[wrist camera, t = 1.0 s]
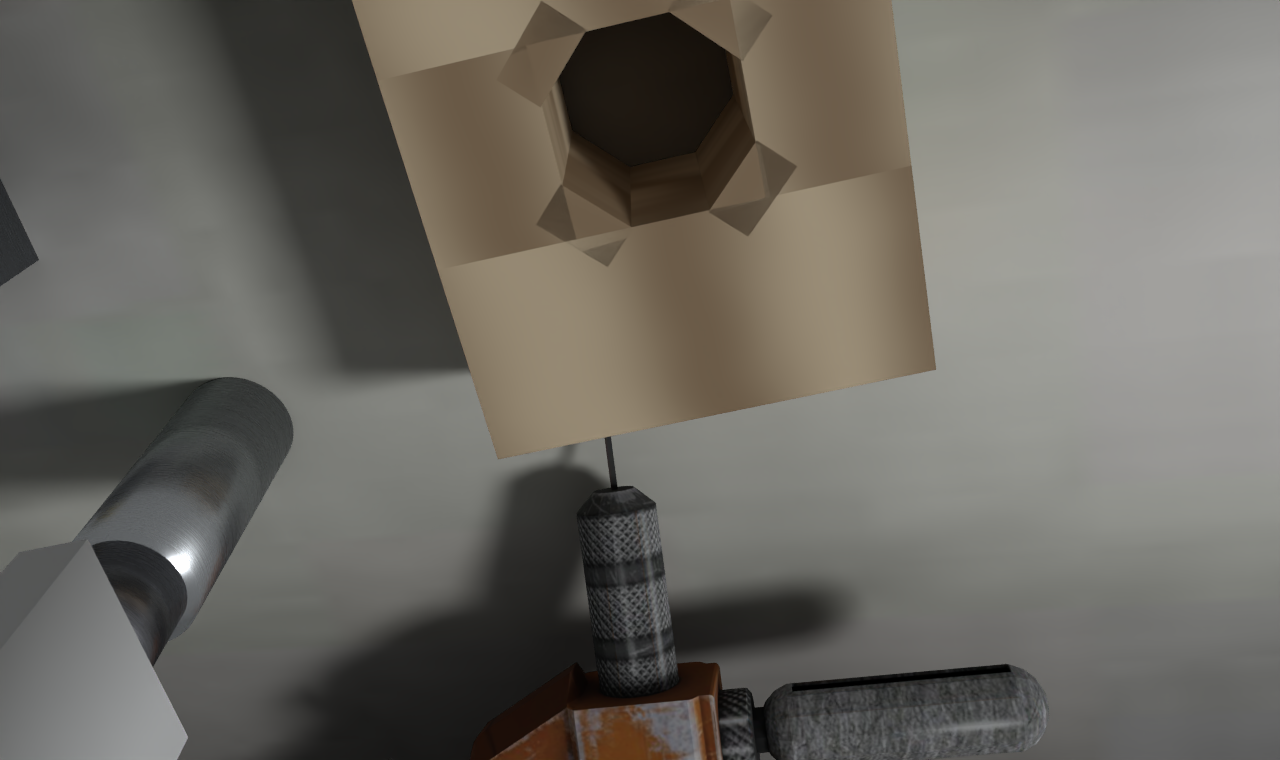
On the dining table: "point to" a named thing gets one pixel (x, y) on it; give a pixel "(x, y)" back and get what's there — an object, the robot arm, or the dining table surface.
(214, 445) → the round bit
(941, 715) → the tool
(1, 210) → the square bit
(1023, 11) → the dining table surface
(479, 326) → the bore block
